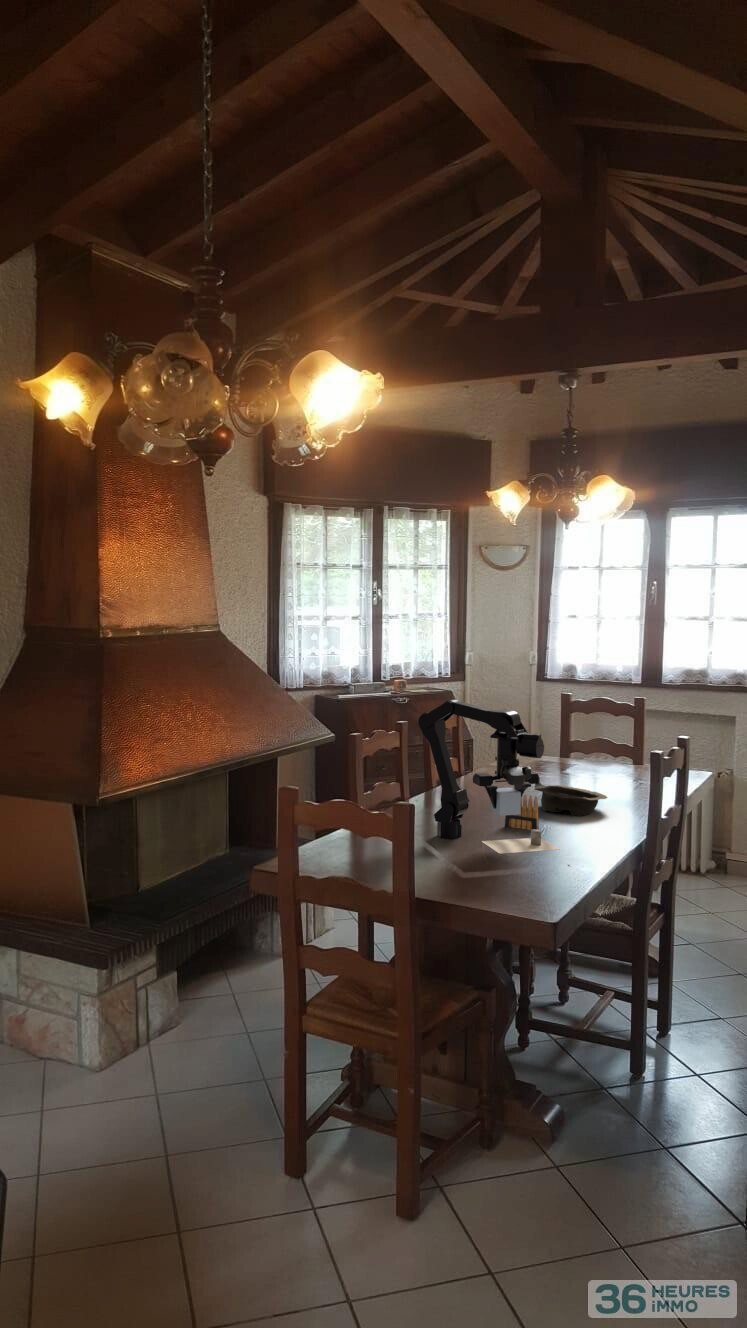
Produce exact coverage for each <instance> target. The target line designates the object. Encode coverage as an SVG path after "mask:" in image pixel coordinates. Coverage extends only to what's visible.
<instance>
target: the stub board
mask: <svg viewBox="0 0 747 1328" xmlns="http://www.w3.org/2000/svg"><path fill="white" fill-rule="evenodd" d="M481 842H482V843H483V844H485V845H486V846H487V847H489V848H491V849H492V850H493V851H495V852H496V853H498V854H499V855H500V854H514V853H515V854H516V853H528V852H530V853H531V852H543V851H557V850H559V851H560V850H561V849H560V848H559V847H557V846H555V845H554V844H552V843H550V842H548V841H547V840H545V839H543V838H542V830H540V829H539V830H537V829H533V830H530V837H527V838H509V839H508V838H507V839H495V840H481Z"/></svg>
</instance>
